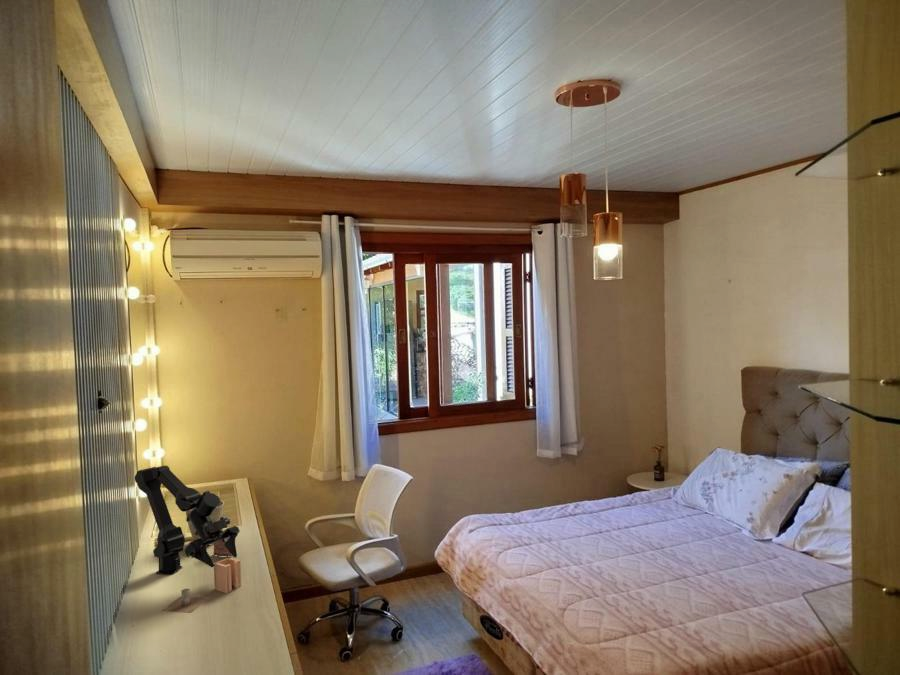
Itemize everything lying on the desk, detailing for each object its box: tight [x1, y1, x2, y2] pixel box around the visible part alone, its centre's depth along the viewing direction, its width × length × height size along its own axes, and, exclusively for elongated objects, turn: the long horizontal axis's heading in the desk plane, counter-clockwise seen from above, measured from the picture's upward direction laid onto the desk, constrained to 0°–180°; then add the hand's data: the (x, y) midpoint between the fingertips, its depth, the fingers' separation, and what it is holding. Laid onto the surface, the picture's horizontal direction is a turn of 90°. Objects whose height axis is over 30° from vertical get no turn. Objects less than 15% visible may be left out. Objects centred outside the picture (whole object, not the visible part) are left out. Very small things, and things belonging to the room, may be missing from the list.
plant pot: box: [185, 500, 225, 541], centre depth 248 cm, size 15×15×16 cm
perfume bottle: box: [212, 528, 233, 558], centre depth 235 cm, size 8×3×10 cm, turn 74°
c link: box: [213, 557, 242, 594], centre depth 204 cm, size 6×6×9 cm
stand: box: [161, 588, 210, 614], centre depth 192 cm, size 10×10×5 cm
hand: (224, 561), depth 205 cm, fingers open, 9 cm apart
